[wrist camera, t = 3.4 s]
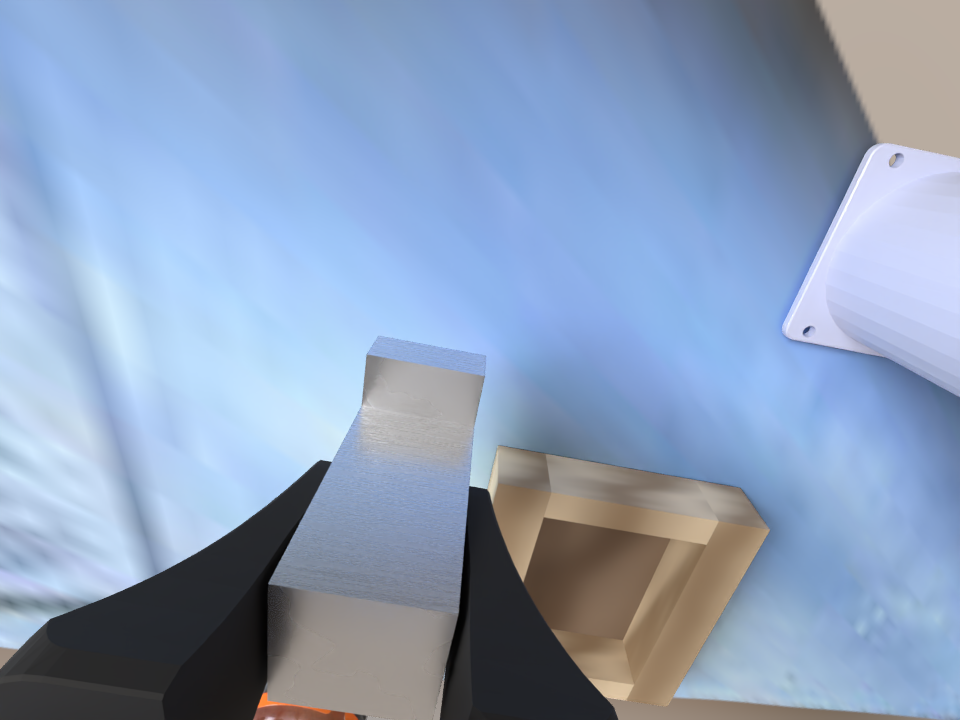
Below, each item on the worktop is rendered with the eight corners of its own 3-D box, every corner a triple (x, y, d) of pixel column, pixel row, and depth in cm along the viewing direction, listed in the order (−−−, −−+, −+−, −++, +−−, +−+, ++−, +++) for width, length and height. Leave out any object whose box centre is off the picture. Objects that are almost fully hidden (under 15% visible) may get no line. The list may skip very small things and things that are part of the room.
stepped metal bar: (485, 355, 15) (475, 544, 8) (451, 520, 18) (420, 769, 11) (378, 335, 15) (268, 509, 8) (360, 504, 18) (266, 747, 11)
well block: (740, 487, 25) (770, 530, 22) (652, 656, 31) (667, 706, 28) (498, 445, 24) (498, 483, 22) (454, 625, 30) (450, 673, 27)
